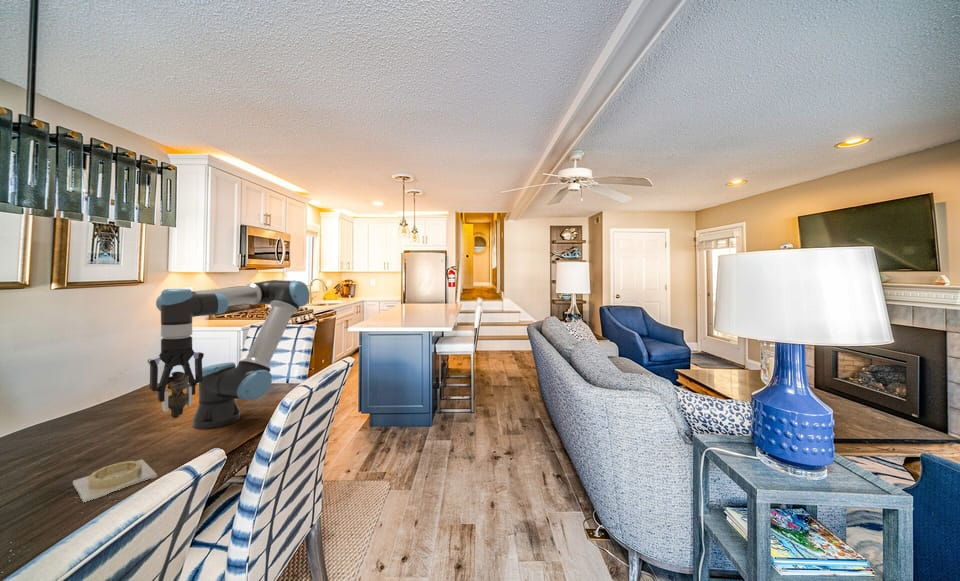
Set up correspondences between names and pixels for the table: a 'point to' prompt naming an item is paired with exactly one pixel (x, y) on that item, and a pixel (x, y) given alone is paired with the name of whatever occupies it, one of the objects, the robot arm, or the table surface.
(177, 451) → the table surface
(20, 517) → the table surface
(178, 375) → the dark brown lumpy column
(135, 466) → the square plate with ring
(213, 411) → the robot arm
